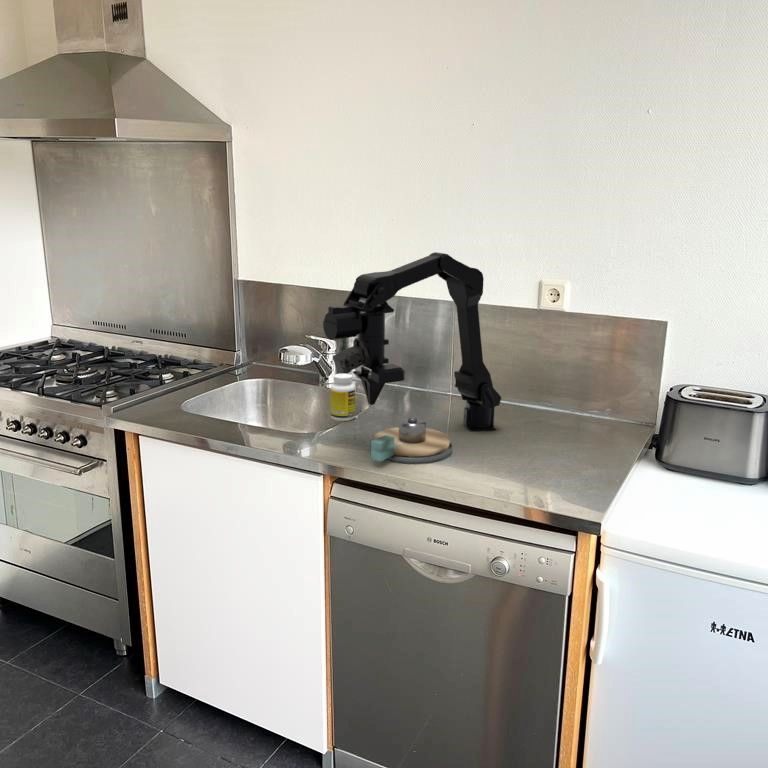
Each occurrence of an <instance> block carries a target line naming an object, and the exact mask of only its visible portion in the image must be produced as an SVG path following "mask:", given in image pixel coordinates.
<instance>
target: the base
mask: <svg viewBox="0 0 768 768" xmlns="http://www.w3.org/2000/svg"><path fill="white" fill-rule="evenodd" d="M452 449H453V444H452V443H451V442H450V446H449V448H448V449H447V450H445V451H444V452H441V453H438V454H435V455H430V456H420V457H409V456H398V455H393V456H391V457H389V458H387V459H385V460H384V461H388V462H392V463H397V464H405V465H426V464H433V463H437V462H440V461H443V460H445V459H447V458H449V456H450V455H451V454H452V451H453V450H452Z"/></svg>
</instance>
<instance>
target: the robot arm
mask: <svg viewBox="0 0 768 768" xmlns="http://www.w3.org/2000/svg"><path fill="white" fill-rule="evenodd" d="M436 275H437V276H438V278H440V279H442V280H443V281H445V284H446V287H447V289H448V293H449V295H450V297H451V299H452V300H453V303H454V304H455V307H456V313H457V314H456V315H457V324H458V333H459V334H458V335H459V342H460V343H459V344H460V353H461V354H460V355H461V366H460V367H459V370H455V371H454V379H455V383H454V387H455V388H456V389H457V391H458V392H459V393H460V396H461V400H463V401H466V403H465V404H466V405H465V406H466V407H464V408H463V424H464V426H465V427H466V428H467V429H468V430H469V431H470V432H477V431H478V432H479V431H480V432H481V431H496V430H497V427H496V426H495V421H494V420H495V408H496V407H499V406H500V403H501V401H502V395H501V394H499V393H498V392H497V390H496V389H495V388H494V386H493V385H494V383H493V380H492V376H491V373H490V372H489V369H488V368H487V366H486V365H485V363H484V359H483V358H484V357H483V355H484V354H483V347H482V346H483V345H482V336H481V323H480V314H479V313H480V312H479V302H480V301H481V297H482V296H483V294H484V279H485V278H484V274H483V272H482V271H480V270H479V268H476V267H470V266H468V265H467V264H464V263H463V262H460V261H458V260H456V259H455V258H453V257H452V256H451V255H449V254H448V253H444V252H443V253H442V252H432V253H430V254H429V255H426V256H425V257H422V258H419V259H416V260H413V261H411V262H409V263H406V264H404V265H401V266H399V267H396V268H393V269H392V270H391V269H390V270H386V271H374V272H370V273H362V274H360V275H359V276H357V277H356V278H355V282H354V284H353V286H352V289H351V290H350V292H349V294H348V296H347V297H346V299H345V300H344V302H343V305H342V306H341V305H340V306H336V305H332V306H328V312H327V313H326V314H325V315H324V320H323V321H322V322H323V323H322V325H323V332H324V335H325V336H326V338H327V339H328V340H330V341H332V340H333V341H334V340H342V339H347V338H354V340H353V342H352V344H353V345H352V346H350V347H347V348H345V349H343V350H341V351H340V352H338V353H336V354H335V353H334V355H332V360H333V362H334V365H335V368H336V371H338V372H341V374H350V373H351V372H352V374H353V375H354V376H356V377H357V378H358V379H359V380H360V381H361V383H362V387H363V390H364V393H365V397H366V400H367V402H368V403H367V404H368V405H370V406H373V405H375V404H376V402H377V400H378V398H379V396H380V394H381V392H382V390H383V389H384V386H385V384H389V383H396V382H397V383H398V382H402V381H405V373H406V371H405V370H404V369H403V368H402V366H399V365H397V364H394V363H391V364H389V358H388V357H386V349H385V348H386V346H387V345H390V344H389V343H390V342H389V341H390V340H389V339H387V338H386V335H385V334H386V314H389V313H394V311H395V309H394V308H393V307H392V306H390V305H389V303H388V301H389V300H391V299H392V298H394V297H395V295H397V293H398V292H399V291H400V290H402V289H404V288H407V287H409V286H411V285H414V284H416V283H419V282H421V281H423V280H426V279H429V278H431V277H434V276H436ZM353 370H354V371H353Z"/></svg>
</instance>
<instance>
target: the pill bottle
mask: <svg viewBox="0 0 768 768" xmlns="http://www.w3.org/2000/svg"><path fill="white" fill-rule="evenodd" d="M352 382H353V375H352V374H350V373H346V374H344V373H336V374H334V375H333V383H332V384H331V386H330V418H331V419H332V420H333V421H337V422H348V421H352V420H354V419H355V417H356V385H355V384H354V383H352Z"/></svg>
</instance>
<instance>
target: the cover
mask: <svg viewBox="0 0 768 768" xmlns="http://www.w3.org/2000/svg"><path fill="white" fill-rule="evenodd" d="M398 427H399V440H400V441H401V442H404V443H410V444H416V443H422V442H424V441H425V440H426V428H427V421H426V420H425V419H422V418H418V417H414V416H411V417H410V416H409V417H405V418H401V419H400V420H398Z"/></svg>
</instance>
